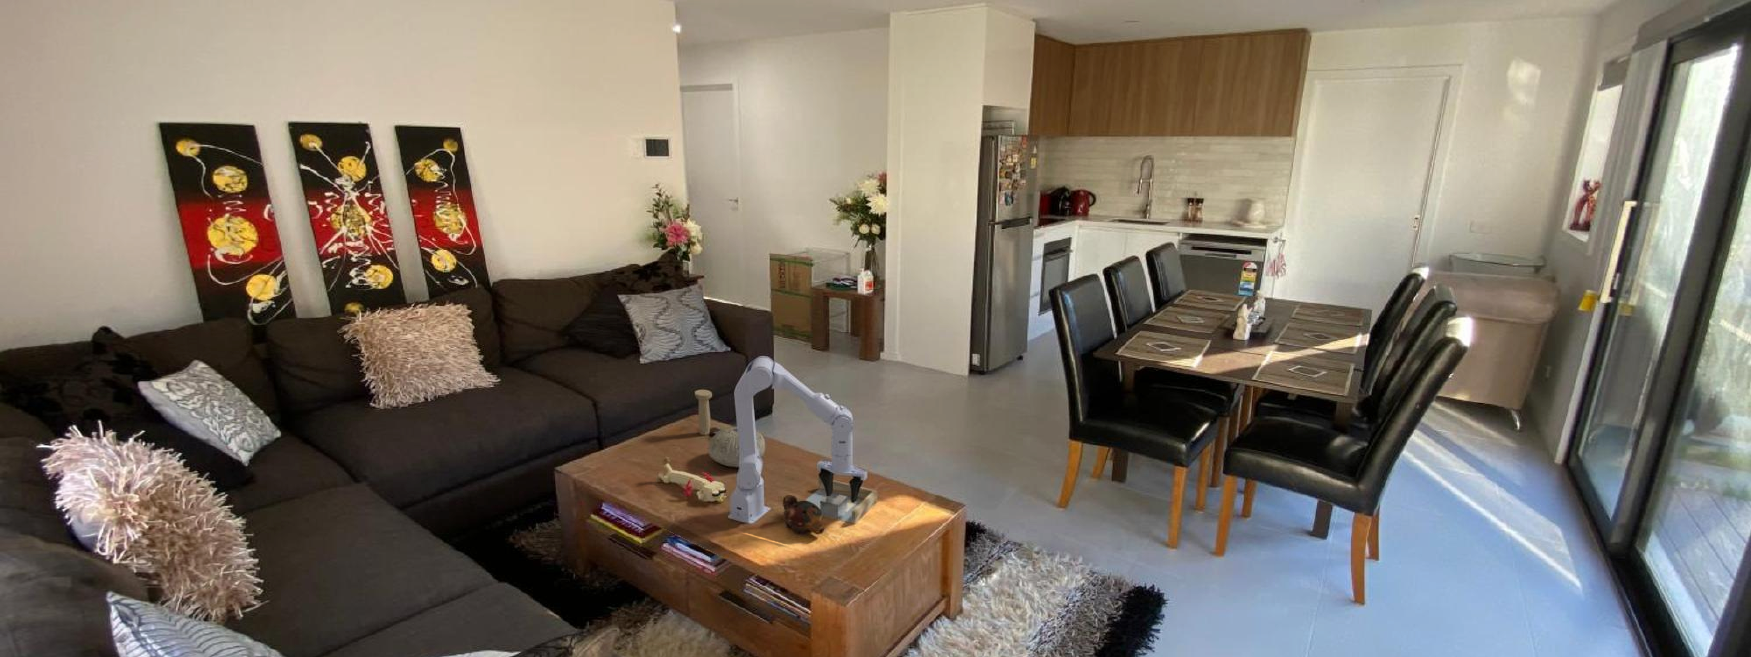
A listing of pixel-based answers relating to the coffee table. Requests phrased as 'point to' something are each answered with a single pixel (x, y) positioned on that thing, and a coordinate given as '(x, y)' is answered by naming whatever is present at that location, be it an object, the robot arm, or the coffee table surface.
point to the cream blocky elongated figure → (694, 483)
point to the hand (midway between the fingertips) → (841, 498)
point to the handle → (704, 410)
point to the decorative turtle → (802, 515)
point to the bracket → (834, 506)
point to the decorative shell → (730, 447)
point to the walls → (864, 494)
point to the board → (821, 494)
